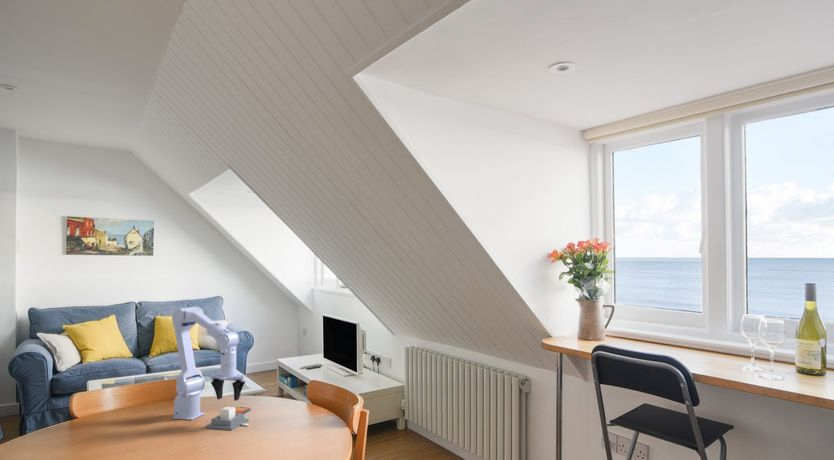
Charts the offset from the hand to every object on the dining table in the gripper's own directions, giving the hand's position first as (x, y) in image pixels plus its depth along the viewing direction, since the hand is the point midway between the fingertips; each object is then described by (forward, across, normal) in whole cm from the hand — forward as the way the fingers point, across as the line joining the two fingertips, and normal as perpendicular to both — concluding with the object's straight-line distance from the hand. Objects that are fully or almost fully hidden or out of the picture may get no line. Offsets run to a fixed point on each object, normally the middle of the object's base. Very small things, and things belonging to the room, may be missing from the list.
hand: (228, 399), depth 191 cm
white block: (+8, 0, -1) cm, 8 cm away
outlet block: (+9, +2, 0) cm, 10 cm away
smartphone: (+10, -5, +10) cm, 15 cm away
